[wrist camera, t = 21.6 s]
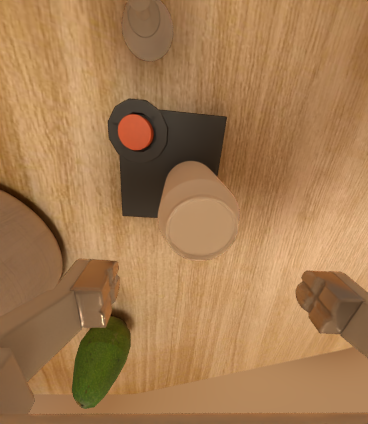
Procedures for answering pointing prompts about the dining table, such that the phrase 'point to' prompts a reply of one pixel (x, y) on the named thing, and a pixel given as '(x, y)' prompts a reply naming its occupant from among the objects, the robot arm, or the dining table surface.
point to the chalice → (147, 28)
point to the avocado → (100, 362)
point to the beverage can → (197, 212)
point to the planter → (25, 254)
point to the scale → (162, 152)
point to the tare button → (135, 132)
